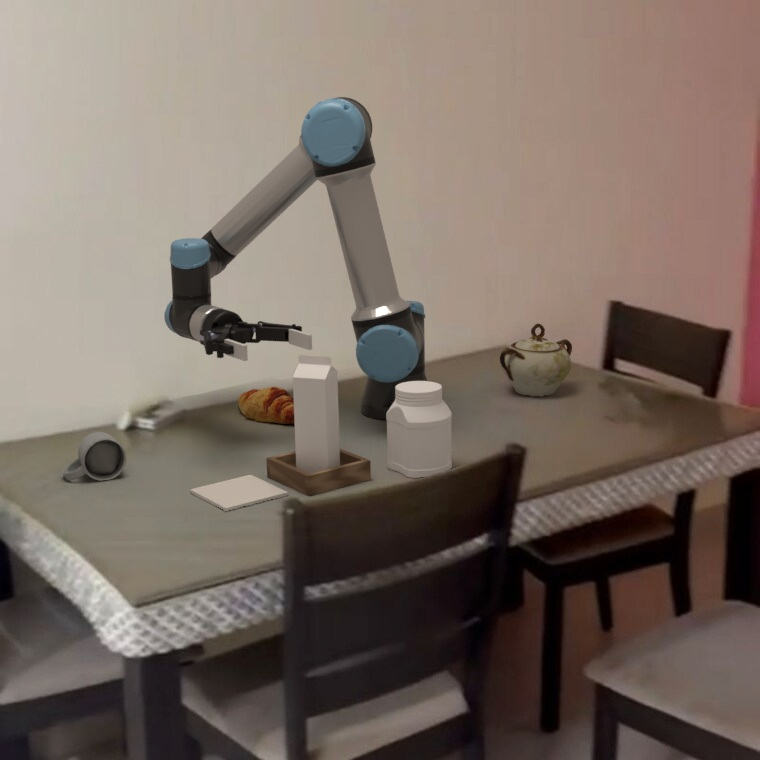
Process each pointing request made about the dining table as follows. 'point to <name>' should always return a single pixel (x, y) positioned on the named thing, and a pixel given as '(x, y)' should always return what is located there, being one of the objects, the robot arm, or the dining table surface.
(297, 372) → the milk
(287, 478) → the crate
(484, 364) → the dining table surface
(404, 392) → the jar
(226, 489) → the tile
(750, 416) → the dining table surface
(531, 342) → the sugar bowl
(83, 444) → the ceramic mug
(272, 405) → the croissant
